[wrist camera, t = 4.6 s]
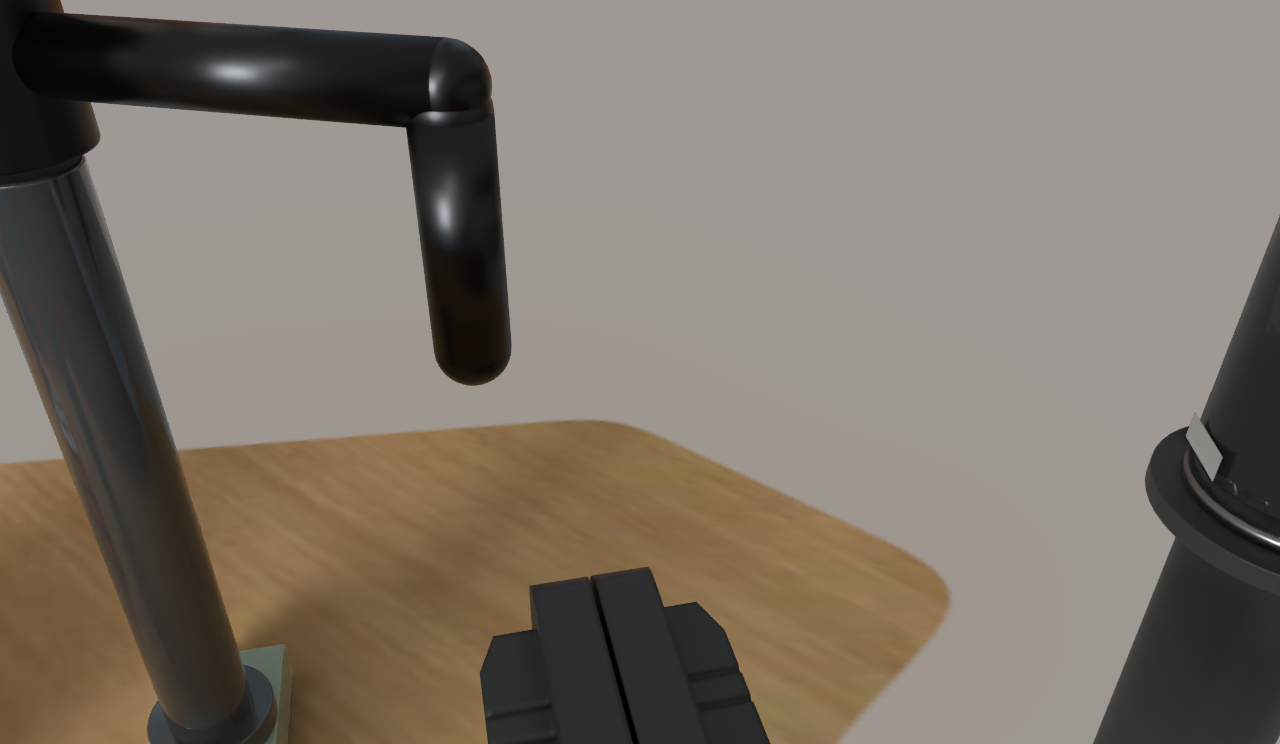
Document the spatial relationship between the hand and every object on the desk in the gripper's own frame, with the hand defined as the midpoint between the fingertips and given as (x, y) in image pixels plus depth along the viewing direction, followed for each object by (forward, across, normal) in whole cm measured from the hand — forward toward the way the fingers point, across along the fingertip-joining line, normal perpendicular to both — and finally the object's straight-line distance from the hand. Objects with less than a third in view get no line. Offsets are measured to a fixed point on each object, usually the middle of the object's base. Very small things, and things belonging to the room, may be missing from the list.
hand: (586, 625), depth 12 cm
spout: (+12, +5, +2) cm, 13 cm away
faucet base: (+13, +9, +18) cm, 24 cm away
